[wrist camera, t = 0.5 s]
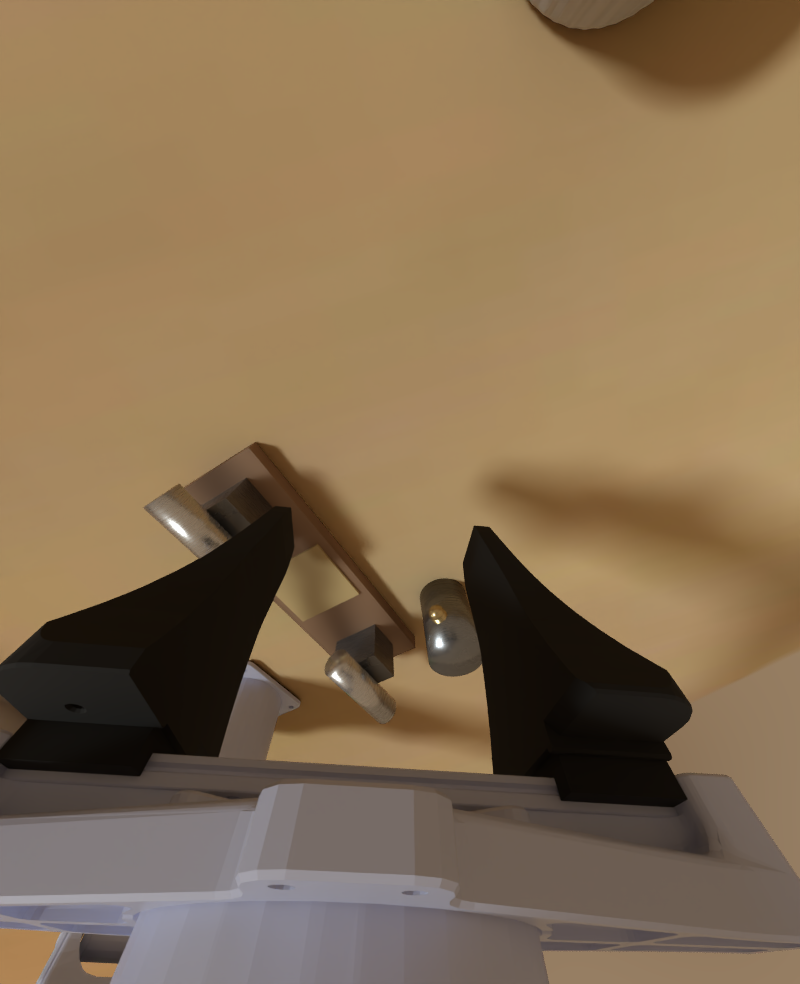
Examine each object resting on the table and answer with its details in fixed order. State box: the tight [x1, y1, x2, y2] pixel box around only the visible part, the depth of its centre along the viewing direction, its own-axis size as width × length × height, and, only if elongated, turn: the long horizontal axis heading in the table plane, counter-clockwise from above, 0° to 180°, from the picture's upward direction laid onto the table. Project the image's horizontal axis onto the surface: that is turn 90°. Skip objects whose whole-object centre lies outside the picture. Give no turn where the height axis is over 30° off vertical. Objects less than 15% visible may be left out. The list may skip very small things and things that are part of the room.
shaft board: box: [184, 442, 415, 657], centre depth 25 cm, size 7×22×1 cm, turn 30°
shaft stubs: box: [143, 478, 396, 724], centre depth 23 cm, size 4×23×5 cm, turn 30°
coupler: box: [420, 579, 482, 676], centre depth 25 cm, size 4×6×6 cm, turn 30°
